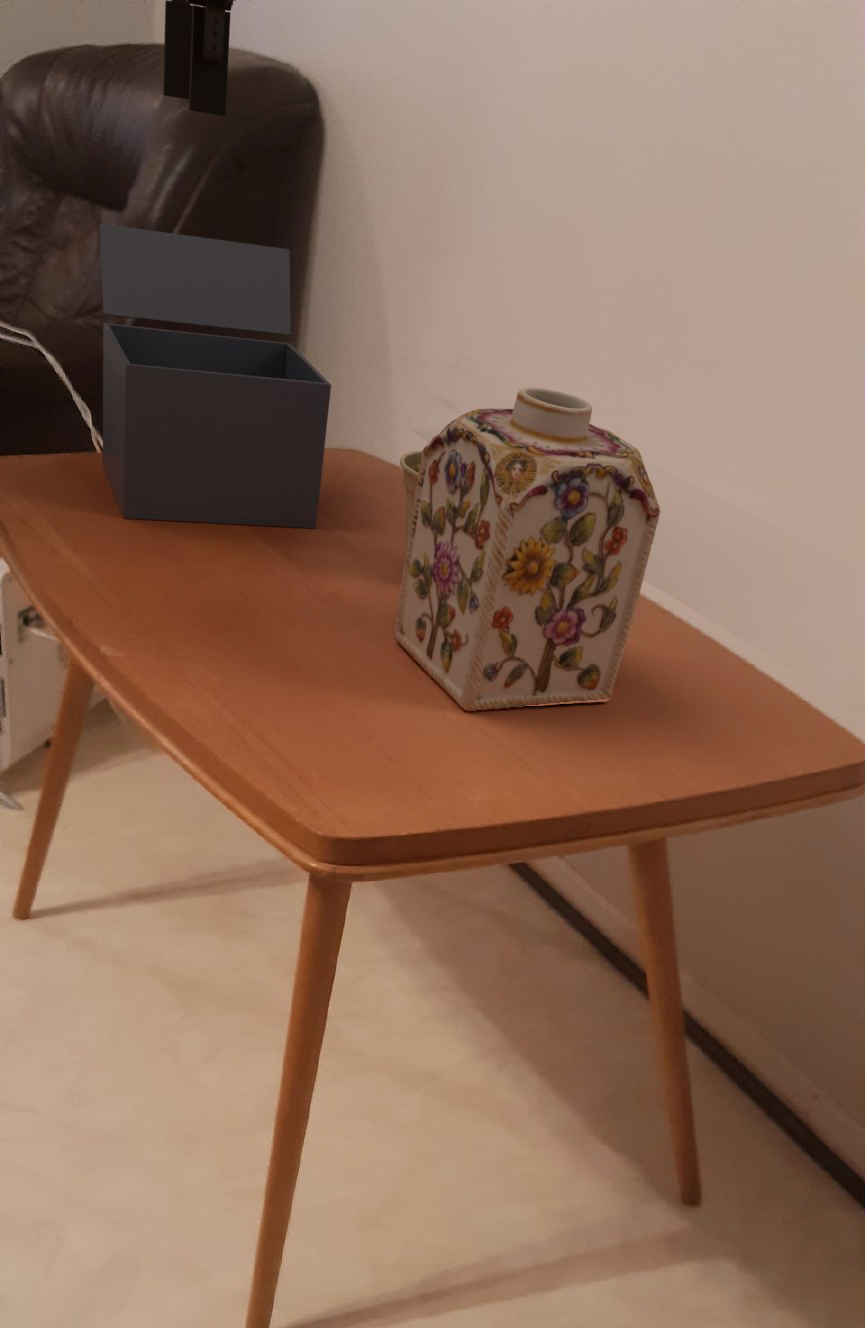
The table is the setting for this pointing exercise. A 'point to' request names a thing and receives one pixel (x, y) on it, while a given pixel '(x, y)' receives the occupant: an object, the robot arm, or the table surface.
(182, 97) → the robot arm
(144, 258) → the flap
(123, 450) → the carton
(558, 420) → the decorative jar
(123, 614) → the table surface
